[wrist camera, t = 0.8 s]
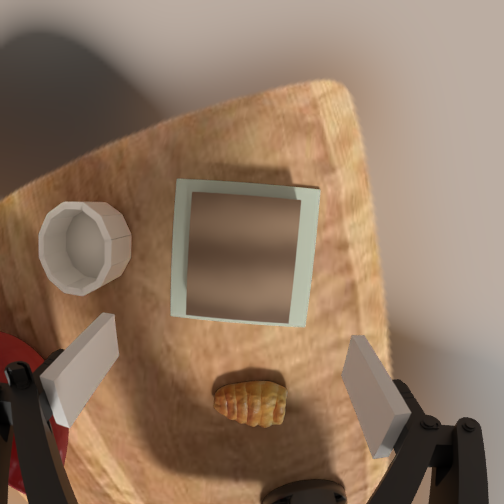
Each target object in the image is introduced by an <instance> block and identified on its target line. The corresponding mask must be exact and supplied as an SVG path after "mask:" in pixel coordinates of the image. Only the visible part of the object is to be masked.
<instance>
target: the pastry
mask: <svg viewBox="0 0 504 504" xmlns="http://www.w3.org/2000/svg"><path fill="white" fill-rule="evenodd" d="M287 393H288V391H287V389H286V388H285V387H283V386H281V385H278V384H276V383H274V382H271V381H262V380H261V381H251V382H242V383H234V384H229V385H226V386H224V387H221V388H219V389H218V390H217V391H216V392H215V396H214V405H213V406H214V408H215V409H216V410H217V411H218V412H219V413H221V414H222V415H224V416H226V417H227V418H228V419H232V420H236V421H237V422H238V423H240V424H242V423H246V424H247V425H249V426H253V427H254V426H257V425H260V426H261V427H263V428H268V427H269V426H271V425H280V424H282V422H283V419H284V415H285V406H286V397H287Z"/></svg>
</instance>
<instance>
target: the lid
mask: <svg viewBox="0 0 504 504" xmlns="http://www.w3.org/2000/svg"><path fill="white" fill-rule="evenodd" d="M300 210H301V200H295V199H285V198H274V197H262V196H250V195H237V194H223V193H207V192H192V200H191V214H190V229H189V246H188V267H187V294H186V315H191V316H200V317H210V318H221V319H232V320H244V321H256V322H271V323H287V324H288V323H289V315H290V307H291V299H292V290H293V281H294V272H295V262H296V252H297V242H298V232H299V221H300Z"/></svg>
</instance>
